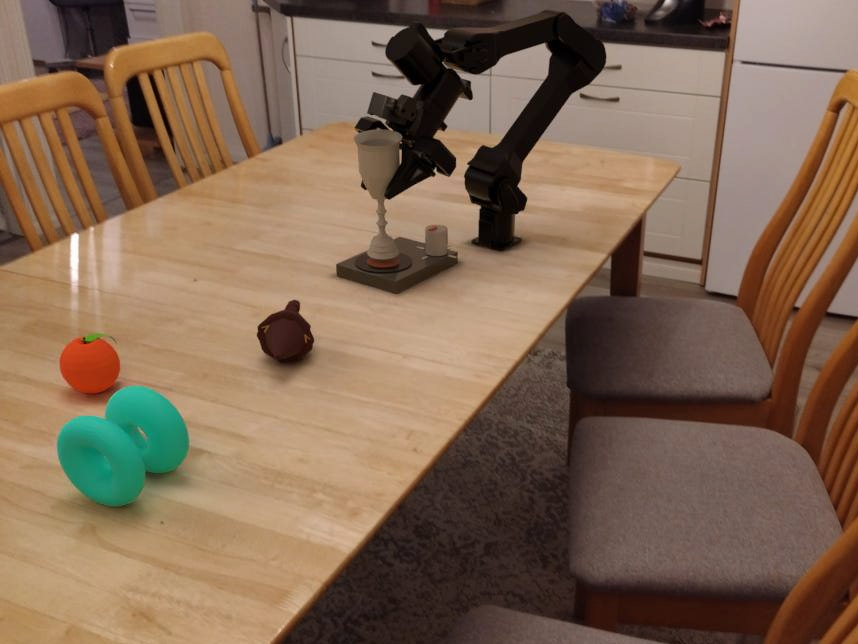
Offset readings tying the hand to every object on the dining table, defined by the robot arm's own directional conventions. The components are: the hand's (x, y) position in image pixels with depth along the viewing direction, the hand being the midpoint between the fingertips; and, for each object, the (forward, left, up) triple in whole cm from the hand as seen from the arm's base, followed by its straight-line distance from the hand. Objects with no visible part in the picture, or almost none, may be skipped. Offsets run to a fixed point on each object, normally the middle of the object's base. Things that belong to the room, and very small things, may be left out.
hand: (374, 193), depth 150 cm
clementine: (+50, -4, -13) cm, 52 cm away
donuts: (+62, +17, -13) cm, 66 cm away
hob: (-4, +1, -13) cm, 14 cm away
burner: (-1, 0, -11) cm, 11 cm away
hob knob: (-10, +4, -11) cm, 15 cm away
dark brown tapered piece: (+30, +9, -13) cm, 34 cm away
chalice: (-2, 0, -10) cm, 10 cm away
